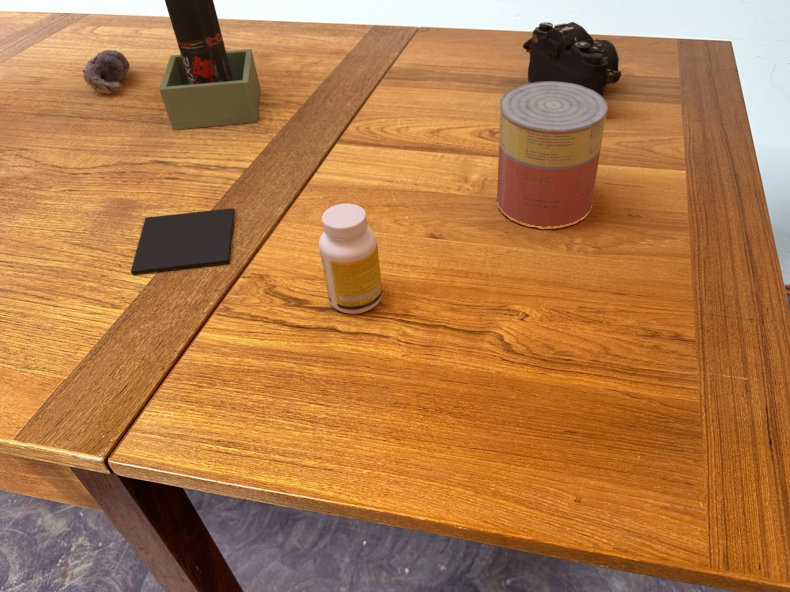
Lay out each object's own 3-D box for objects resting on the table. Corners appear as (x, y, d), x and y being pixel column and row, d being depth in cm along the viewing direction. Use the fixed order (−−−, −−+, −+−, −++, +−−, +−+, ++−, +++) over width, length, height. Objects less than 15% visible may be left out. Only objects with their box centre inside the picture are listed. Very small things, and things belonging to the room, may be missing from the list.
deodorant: (246, 97, 97) (219, -13, 87) (220, 114, 94) (189, 1, 83) (214, 90, 99) (184, -19, 89) (187, 107, 95) (152, -5, 85)
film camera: (648, 97, 97) (663, 26, 90) (600, 127, 91) (611, 53, 84) (551, 64, 106) (557, -3, 99) (500, 89, 100) (503, 20, 93)
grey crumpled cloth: (112, 105, 101) (125, 79, 108) (125, 75, 98) (137, 51, 106) (75, 86, 98) (90, 61, 105) (87, 55, 96) (102, 31, 103)
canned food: (608, 193, 79) (625, 96, 71) (564, 241, 73) (577, 140, 64) (525, 167, 84) (532, 73, 75) (477, 209, 77) (479, 111, 69)
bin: (172, 130, 92) (159, 89, 88) (182, 94, 100) (170, 55, 96) (257, 122, 94) (247, 81, 89) (260, 87, 102) (251, 48, 98)
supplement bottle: (394, 297, 66) (386, 215, 60) (351, 323, 64) (337, 241, 57) (360, 273, 69) (348, 192, 62) (318, 297, 67) (301, 215, 60)
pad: (132, 275, 70) (130, 271, 69) (146, 220, 77) (145, 217, 76) (229, 263, 71) (228, 260, 70) (234, 211, 78) (233, 207, 77)
